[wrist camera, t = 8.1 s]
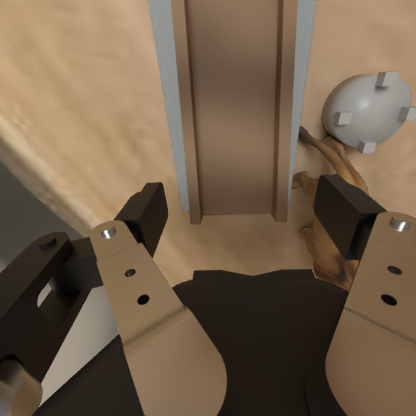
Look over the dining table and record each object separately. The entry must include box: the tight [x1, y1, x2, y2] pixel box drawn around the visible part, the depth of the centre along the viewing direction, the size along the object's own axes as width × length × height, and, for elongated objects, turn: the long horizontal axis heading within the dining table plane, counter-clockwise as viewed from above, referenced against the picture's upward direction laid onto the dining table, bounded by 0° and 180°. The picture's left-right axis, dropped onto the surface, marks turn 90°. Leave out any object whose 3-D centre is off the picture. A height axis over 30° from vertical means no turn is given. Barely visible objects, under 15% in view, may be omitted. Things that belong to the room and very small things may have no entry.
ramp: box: [171, 0, 298, 224], centre depth 12 cm, size 14×6×5 cm, turn 4°
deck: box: [148, 0, 316, 212], centre depth 14 cm, size 21×9×2 cm, turn 4°
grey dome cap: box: [322, 71, 416, 154], centre depth 15 cm, size 5×5×3 cm
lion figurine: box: [291, 126, 369, 291], centre depth 17 cm, size 15×5×9 cm, turn 27°
